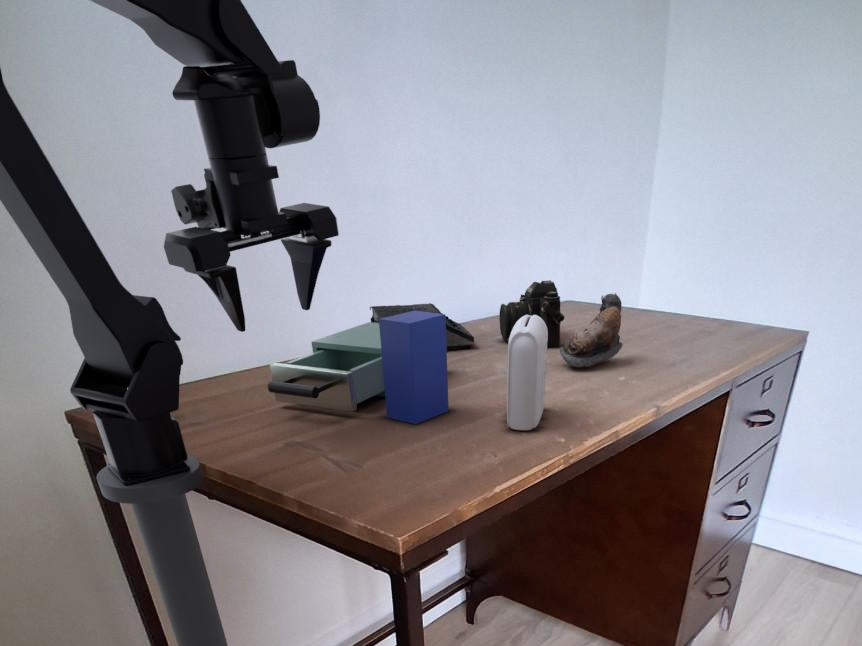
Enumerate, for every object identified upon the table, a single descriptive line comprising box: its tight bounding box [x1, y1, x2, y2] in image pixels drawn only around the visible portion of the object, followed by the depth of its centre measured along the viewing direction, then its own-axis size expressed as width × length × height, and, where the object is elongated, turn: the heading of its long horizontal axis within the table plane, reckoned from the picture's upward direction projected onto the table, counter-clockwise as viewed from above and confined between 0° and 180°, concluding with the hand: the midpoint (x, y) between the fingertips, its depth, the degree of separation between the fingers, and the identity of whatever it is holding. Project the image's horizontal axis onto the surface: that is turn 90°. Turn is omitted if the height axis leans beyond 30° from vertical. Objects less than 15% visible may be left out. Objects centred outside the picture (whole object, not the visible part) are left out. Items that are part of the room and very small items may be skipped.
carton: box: [379, 311, 449, 425], centre depth 86 cm, size 7×5×12 cm
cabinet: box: [311, 321, 385, 398], centre depth 102 cm, size 16×14×7 cm
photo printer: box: [506, 315, 548, 431], centre depth 84 cm, size 10×4×12 cm, turn 169°
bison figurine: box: [559, 292, 624, 369], centre depth 108 cm, size 12×7×10 cm, turn 135°
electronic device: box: [369, 302, 475, 351], centre depth 122 cm, size 12×17×6 cm
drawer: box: [267, 349, 385, 413], centre depth 92 cm, size 19×12×5 cm, turn 156°
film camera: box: [499, 279, 565, 348], centre depth 123 cm, size 18×12×10 cm
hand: (274, 319), depth 77 cm, fingers open, 9 cm apart
